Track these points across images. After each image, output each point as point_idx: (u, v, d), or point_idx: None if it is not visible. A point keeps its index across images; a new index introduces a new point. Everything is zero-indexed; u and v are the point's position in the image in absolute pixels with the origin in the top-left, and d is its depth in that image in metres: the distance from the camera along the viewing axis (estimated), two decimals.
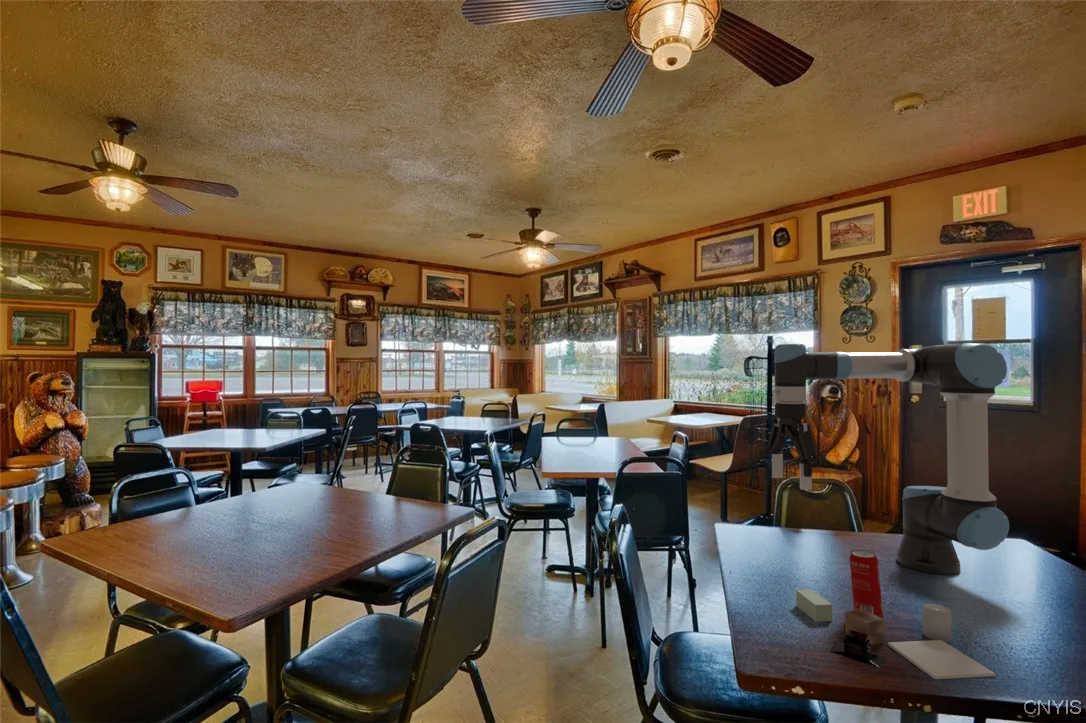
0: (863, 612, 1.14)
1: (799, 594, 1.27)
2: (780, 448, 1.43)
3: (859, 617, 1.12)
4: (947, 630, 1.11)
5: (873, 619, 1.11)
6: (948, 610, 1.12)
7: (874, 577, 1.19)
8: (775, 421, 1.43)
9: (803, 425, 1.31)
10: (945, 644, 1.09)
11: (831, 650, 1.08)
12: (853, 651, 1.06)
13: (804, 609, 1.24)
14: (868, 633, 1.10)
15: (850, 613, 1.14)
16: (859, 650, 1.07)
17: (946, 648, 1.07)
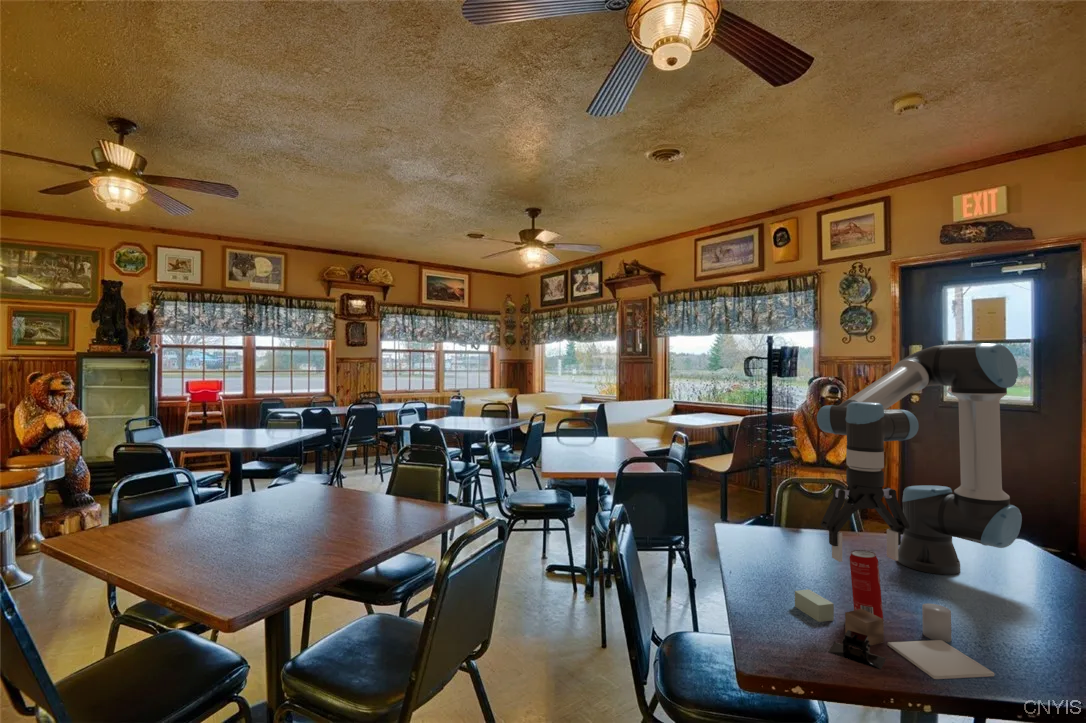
0: (863, 612, 1.14)
1: (798, 595, 1.26)
2: (891, 524, 1.22)
3: (859, 617, 1.12)
4: (947, 630, 1.11)
5: (873, 619, 1.11)
6: (947, 610, 1.13)
7: (874, 577, 1.19)
8: None
9: (836, 490, 1.22)
10: (945, 644, 1.09)
11: (830, 651, 1.08)
12: (852, 652, 1.06)
13: (805, 610, 1.24)
14: (868, 633, 1.10)
15: (850, 613, 1.14)
16: (858, 651, 1.06)
17: (946, 648, 1.07)
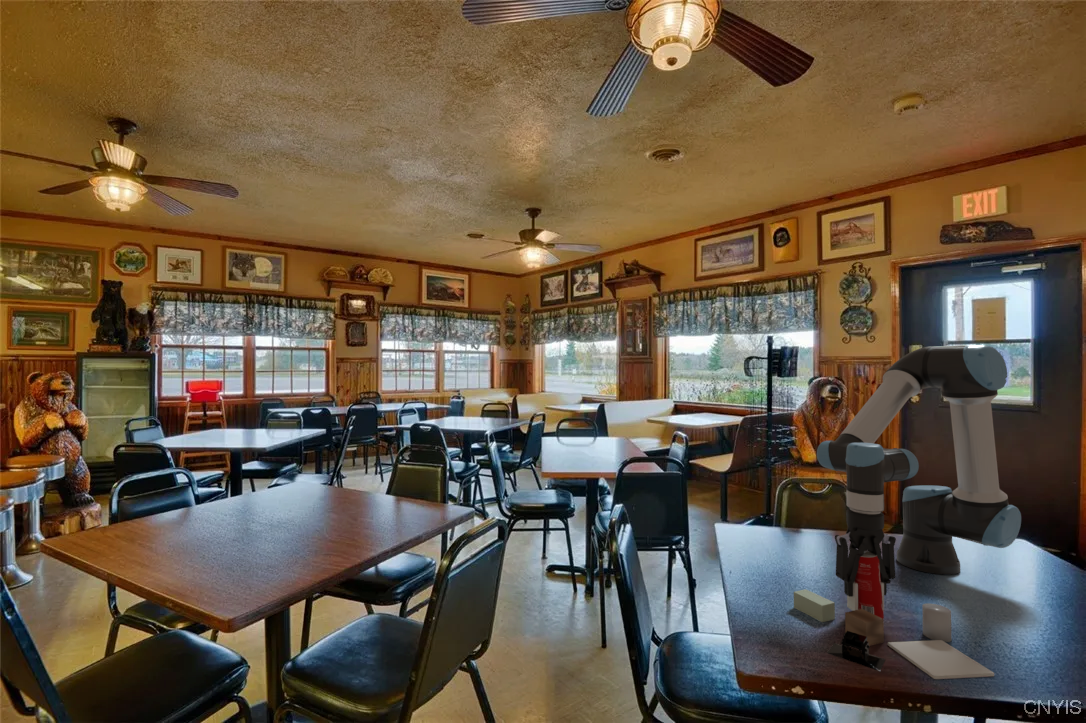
0: (863, 612, 1.14)
1: (798, 595, 1.26)
2: None
3: (859, 617, 1.12)
4: (947, 630, 1.11)
5: (873, 619, 1.11)
6: (947, 610, 1.13)
7: (875, 577, 1.19)
8: None
9: (836, 538, 1.22)
10: (945, 644, 1.09)
11: (829, 652, 1.07)
12: (851, 652, 1.06)
13: (806, 610, 1.24)
14: (868, 633, 1.10)
15: (850, 613, 1.14)
16: (857, 652, 1.06)
17: (946, 648, 1.07)
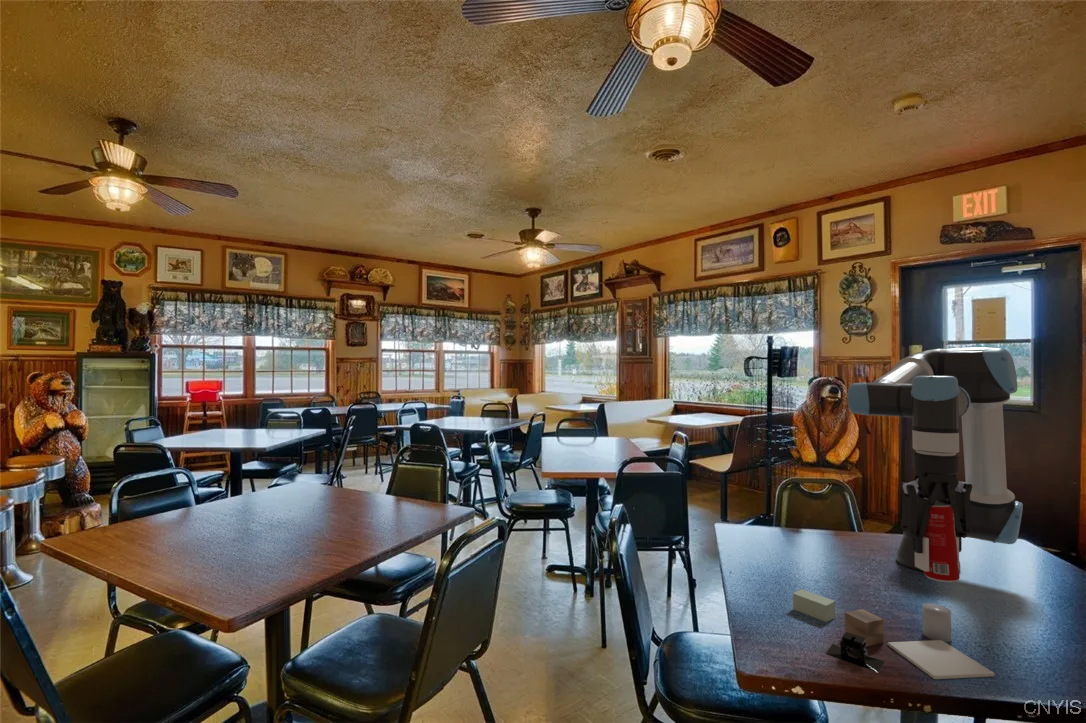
0: (863, 612, 1.14)
1: (798, 597, 1.25)
2: None
3: (859, 617, 1.12)
4: (946, 630, 1.11)
5: (873, 619, 1.11)
6: (947, 610, 1.13)
7: (949, 529, 1.02)
8: None
9: (902, 486, 1.05)
10: (945, 644, 1.09)
11: (827, 653, 1.07)
12: (850, 654, 1.05)
13: (807, 611, 1.23)
14: (868, 633, 1.10)
15: (850, 613, 1.14)
16: (856, 653, 1.05)
17: (946, 648, 1.07)
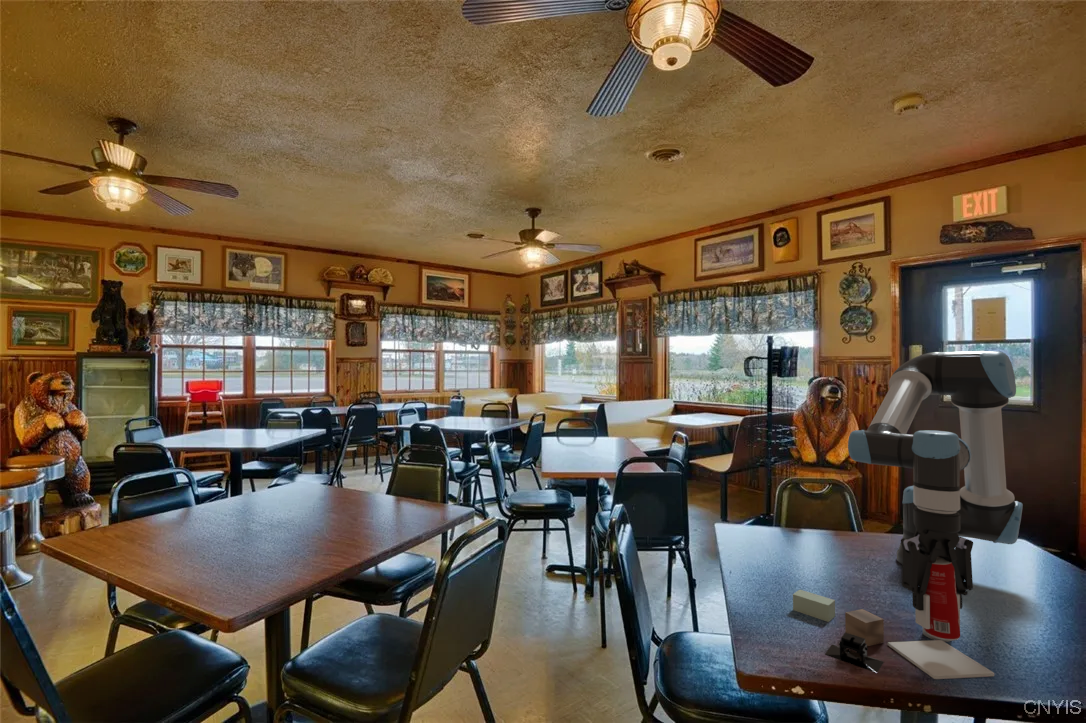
0: (863, 612, 1.14)
1: (798, 597, 1.25)
2: None
3: (859, 617, 1.12)
4: None
5: (873, 619, 1.11)
6: None
7: (950, 587, 1.02)
8: None
9: (903, 543, 1.04)
10: (945, 644, 1.09)
11: (827, 653, 1.07)
12: (849, 654, 1.05)
13: (808, 612, 1.23)
14: (868, 633, 1.10)
15: (850, 613, 1.14)
16: (855, 654, 1.05)
17: (946, 648, 1.07)
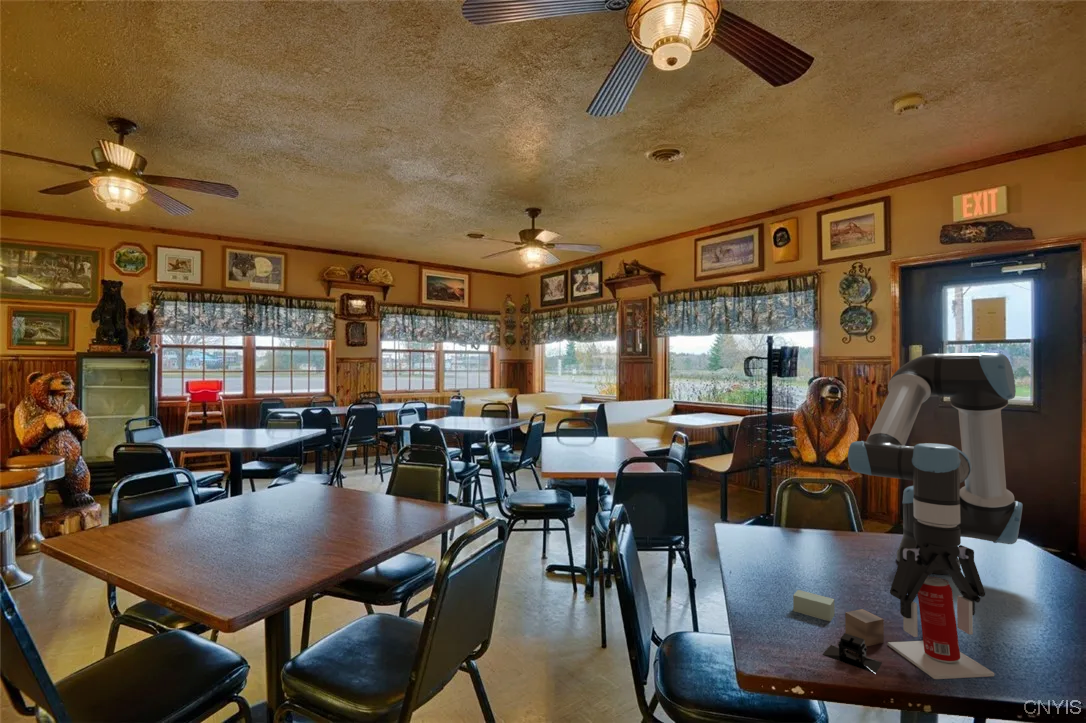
0: (863, 612, 1.14)
1: (799, 598, 1.24)
2: (964, 590, 1.04)
3: (859, 617, 1.12)
4: None
5: (873, 619, 1.11)
6: None
7: (949, 609, 1.02)
8: None
9: (903, 551, 1.04)
10: None
11: (826, 654, 1.06)
12: (848, 655, 1.05)
13: (810, 612, 1.23)
14: (868, 633, 1.10)
15: (850, 613, 1.14)
16: (855, 655, 1.05)
17: None
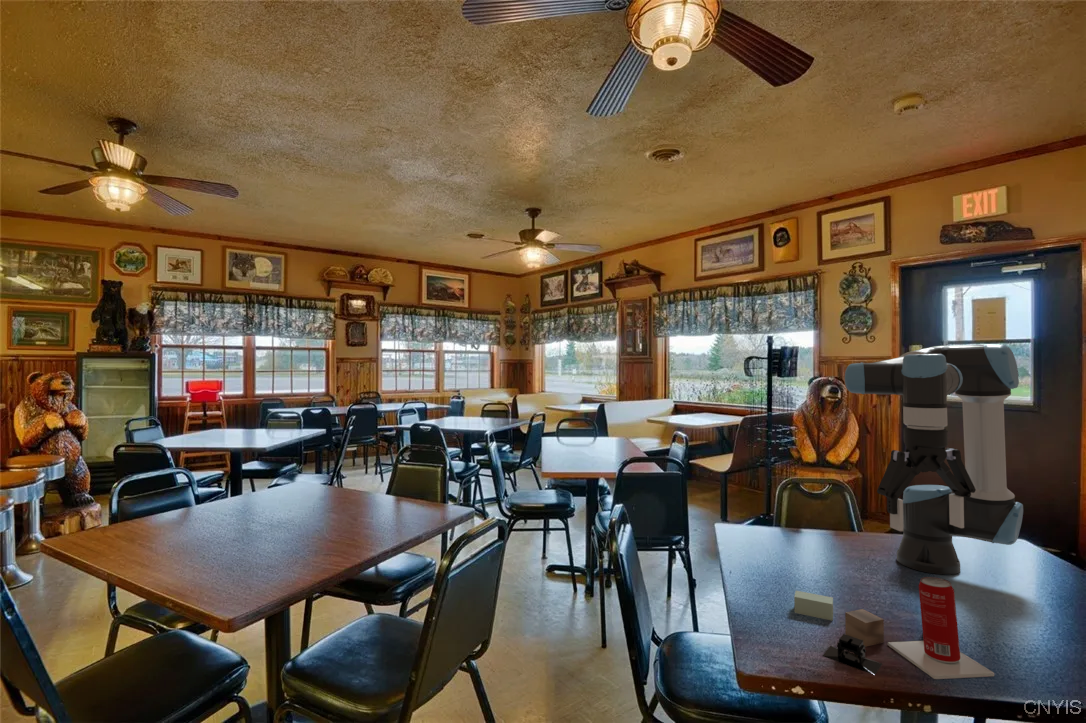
0: (863, 612, 1.14)
1: (800, 599, 1.24)
2: (955, 488, 1.10)
3: (859, 617, 1.12)
4: None
5: (873, 619, 1.11)
6: None
7: (950, 610, 1.02)
8: None
9: (893, 452, 1.10)
10: None
11: (825, 655, 1.06)
12: (847, 656, 1.04)
13: (811, 613, 1.23)
14: (868, 633, 1.10)
15: (850, 613, 1.14)
16: (854, 656, 1.05)
17: None
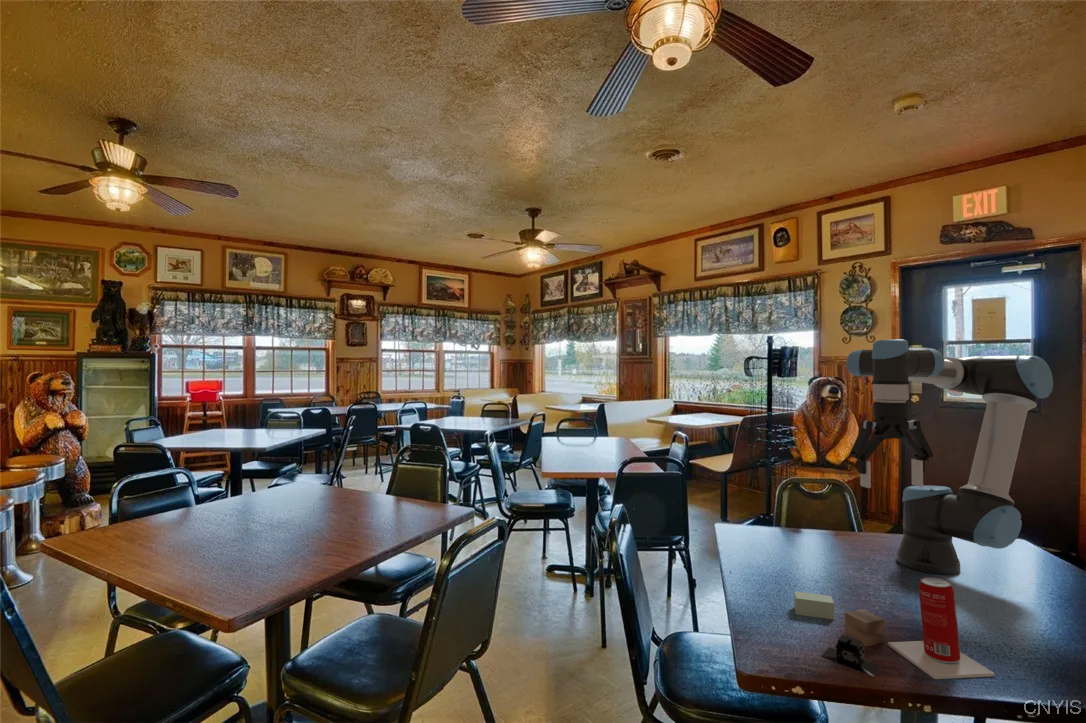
0: (863, 612, 1.14)
1: (802, 600, 1.23)
2: (915, 453, 1.30)
3: (859, 617, 1.12)
4: None
5: (873, 619, 1.11)
6: None
7: (950, 610, 1.02)
8: None
9: (863, 422, 1.30)
10: None
11: (823, 655, 1.06)
12: (846, 657, 1.04)
13: (813, 613, 1.22)
14: (868, 633, 1.10)
15: (850, 613, 1.14)
16: (852, 657, 1.04)
17: None
